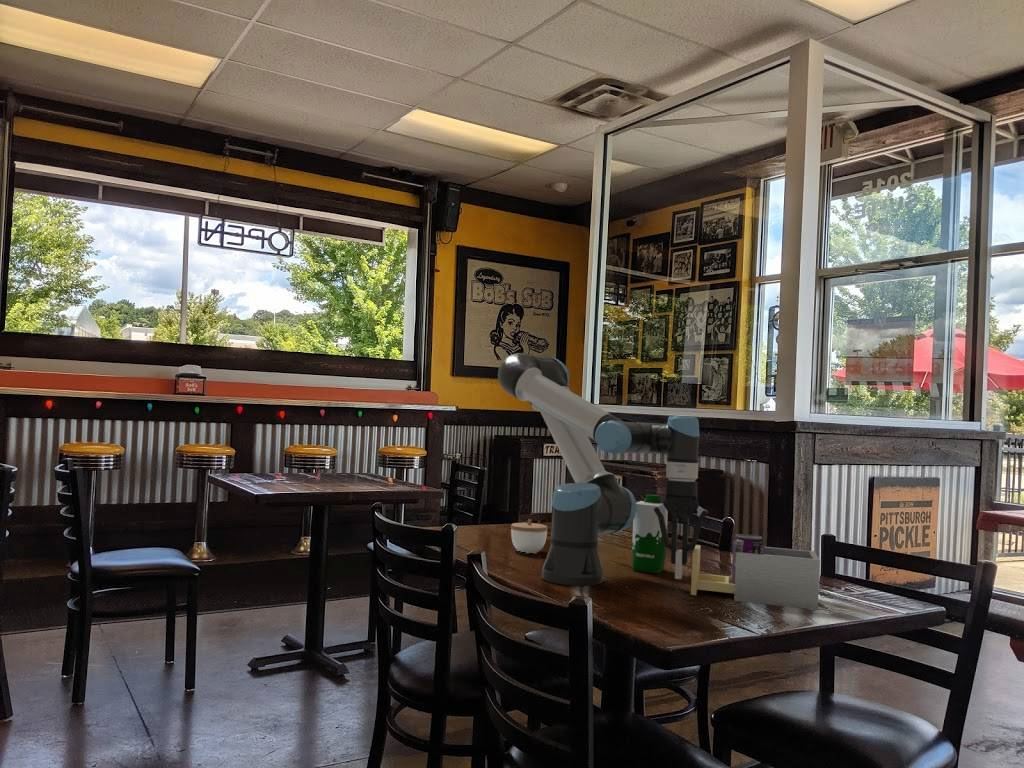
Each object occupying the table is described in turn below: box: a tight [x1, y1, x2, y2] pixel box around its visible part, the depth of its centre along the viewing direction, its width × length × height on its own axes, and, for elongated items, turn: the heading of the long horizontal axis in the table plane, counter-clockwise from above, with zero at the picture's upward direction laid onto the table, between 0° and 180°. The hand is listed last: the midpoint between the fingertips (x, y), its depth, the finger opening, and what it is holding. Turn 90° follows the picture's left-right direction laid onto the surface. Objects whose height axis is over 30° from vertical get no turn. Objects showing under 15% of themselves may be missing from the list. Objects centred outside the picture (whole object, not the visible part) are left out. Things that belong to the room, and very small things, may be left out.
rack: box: [690, 544, 735, 596], centre depth 192 cm, size 18×14×10 cm
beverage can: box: [731, 533, 765, 584], centre depth 191 cm, size 7×7×12 cm
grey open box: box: [733, 546, 821, 611], centre depth 190 cm, size 18×14×11 cm
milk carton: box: [631, 493, 669, 574], centre depth 218 cm, size 9×9×20 cm
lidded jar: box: [510, 518, 548, 554], centre depth 238 cm, size 11×11×9 cm
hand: (678, 577), depth 195 cm, fingers closed
